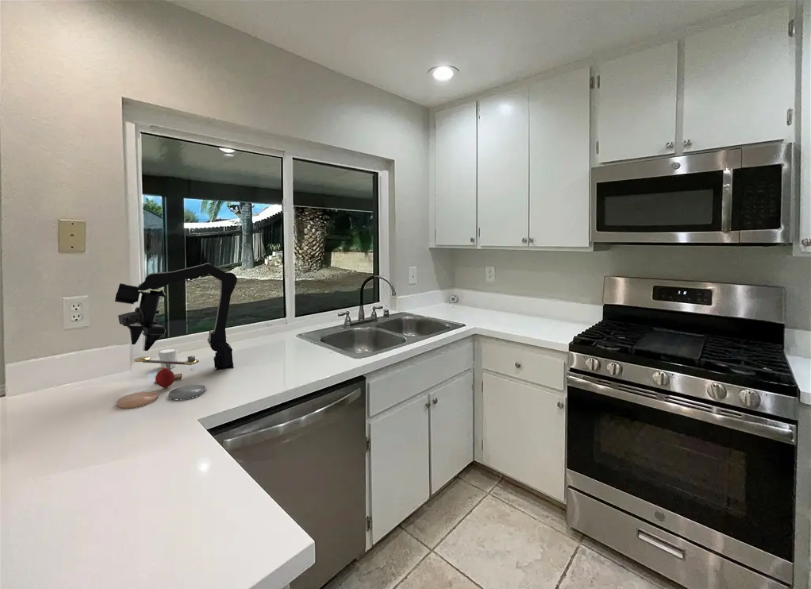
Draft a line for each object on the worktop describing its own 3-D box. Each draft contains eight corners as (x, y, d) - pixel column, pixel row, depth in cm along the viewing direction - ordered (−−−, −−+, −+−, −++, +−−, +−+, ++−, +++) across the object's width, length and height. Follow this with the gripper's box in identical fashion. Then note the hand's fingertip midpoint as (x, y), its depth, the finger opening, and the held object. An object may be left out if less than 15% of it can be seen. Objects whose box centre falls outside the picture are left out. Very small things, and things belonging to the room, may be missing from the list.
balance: (200, 373, 154) (198, 350, 153) (199, 377, 150) (197, 353, 148) (138, 381, 146) (135, 357, 145) (135, 386, 141) (132, 361, 140)
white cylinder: (170, 370, 159) (168, 353, 158) (155, 369, 160) (153, 352, 159) (182, 364, 166) (181, 348, 164) (168, 363, 167) (167, 347, 166)
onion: (170, 384, 143) (168, 363, 142) (178, 387, 140) (176, 365, 139) (153, 389, 139) (151, 367, 137) (161, 392, 135) (158, 370, 134)
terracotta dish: (159, 392, 136) (159, 389, 135) (154, 404, 126) (154, 401, 125) (121, 398, 131) (121, 394, 131) (112, 411, 121) (112, 407, 121)
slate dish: (206, 385, 142) (206, 382, 141) (205, 396, 132) (204, 393, 131) (171, 390, 137) (171, 387, 137) (167, 402, 127) (166, 399, 127)
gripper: (112, 299, 143) (102, 341, 143) (137, 310, 133) (127, 355, 134) (144, 302, 152) (136, 341, 153) (170, 312, 143) (161, 354, 143)
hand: (139, 347), depth 145 cm, fingers open, 9 cm apart
